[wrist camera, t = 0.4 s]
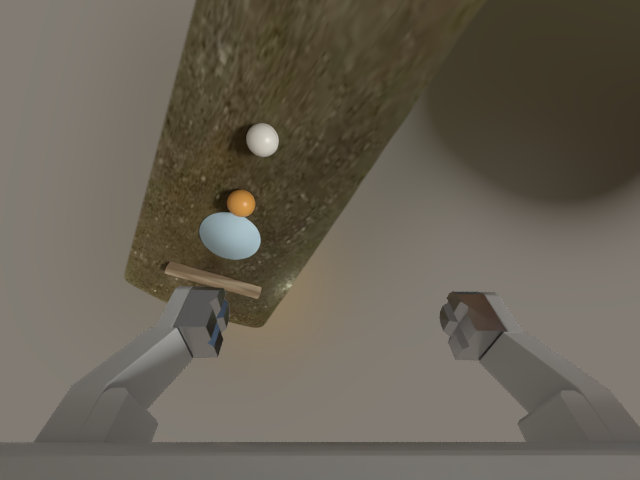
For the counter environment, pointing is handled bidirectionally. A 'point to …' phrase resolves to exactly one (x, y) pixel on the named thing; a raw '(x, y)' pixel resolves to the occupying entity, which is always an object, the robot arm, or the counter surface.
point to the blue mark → (229, 235)
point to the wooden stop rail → (212, 279)
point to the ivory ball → (262, 139)
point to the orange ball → (241, 203)
